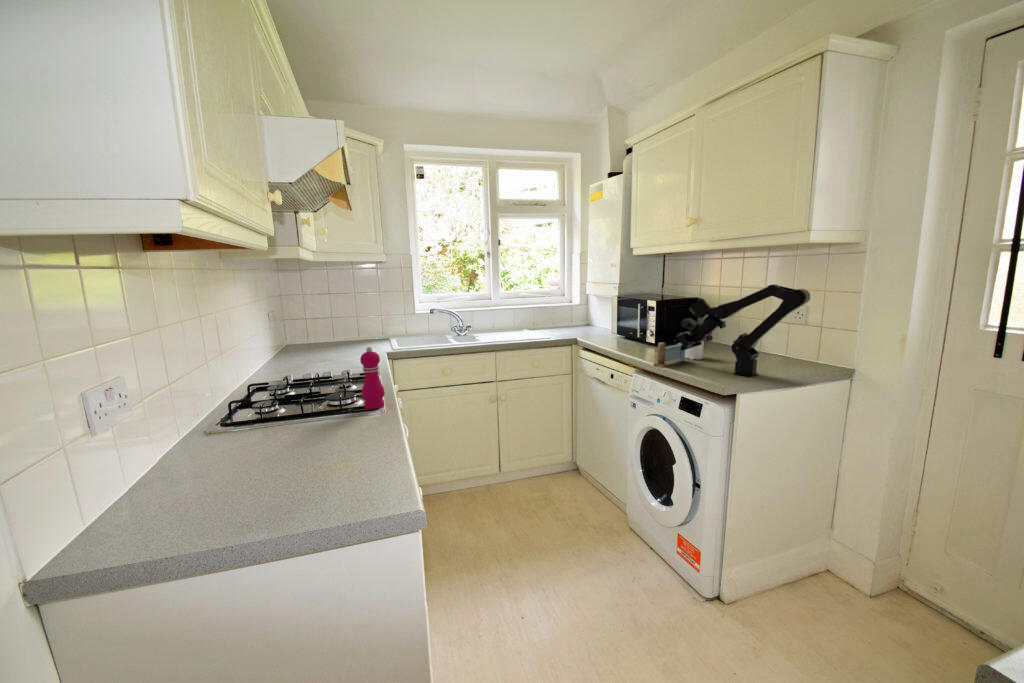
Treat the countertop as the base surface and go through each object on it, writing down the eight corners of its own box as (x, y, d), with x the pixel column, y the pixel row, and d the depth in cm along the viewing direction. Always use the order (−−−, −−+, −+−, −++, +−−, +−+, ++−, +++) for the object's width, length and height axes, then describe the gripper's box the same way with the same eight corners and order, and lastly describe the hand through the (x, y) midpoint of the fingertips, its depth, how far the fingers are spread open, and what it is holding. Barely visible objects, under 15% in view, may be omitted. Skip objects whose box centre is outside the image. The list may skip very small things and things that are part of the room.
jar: (683, 355, 199) (684, 330, 197) (701, 356, 196) (703, 331, 194) (684, 359, 191) (685, 333, 188) (703, 360, 188) (704, 334, 186)
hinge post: (668, 365, 179) (669, 343, 178) (662, 367, 177) (663, 344, 175) (659, 363, 183) (660, 341, 181) (653, 365, 181) (654, 342, 179)
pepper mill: (373, 411, 132) (368, 349, 128) (358, 408, 135) (352, 348, 132) (390, 404, 138) (385, 345, 134) (375, 401, 141) (369, 344, 138)
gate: (666, 364, 180) (667, 347, 179) (661, 363, 182) (662, 346, 181) (684, 360, 187) (685, 343, 186) (680, 359, 189) (680, 342, 188)
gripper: (707, 310, 180) (683, 333, 191) (681, 314, 170) (657, 338, 180) (724, 330, 175) (698, 352, 185) (698, 335, 164) (673, 358, 175)
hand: (682, 349), depth 182 cm, fingers closed
